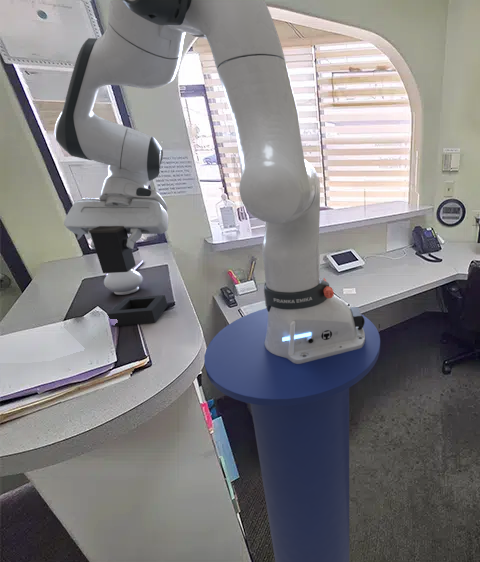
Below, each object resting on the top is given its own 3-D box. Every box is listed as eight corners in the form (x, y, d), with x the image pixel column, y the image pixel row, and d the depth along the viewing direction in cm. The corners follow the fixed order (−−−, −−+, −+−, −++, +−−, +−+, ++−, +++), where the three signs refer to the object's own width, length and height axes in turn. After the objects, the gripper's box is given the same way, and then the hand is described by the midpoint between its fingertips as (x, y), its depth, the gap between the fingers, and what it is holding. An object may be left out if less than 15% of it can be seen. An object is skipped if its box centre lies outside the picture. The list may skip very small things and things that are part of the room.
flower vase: (150, 277, 105) (131, 202, 96) (151, 296, 91) (129, 211, 82) (101, 284, 98) (74, 204, 89) (94, 307, 84) (62, 215, 75)
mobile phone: (103, 274, 103) (119, 260, 116) (104, 277, 104) (120, 263, 116) (130, 272, 106) (143, 259, 119) (131, 275, 106) (144, 261, 119)
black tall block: (136, 265, 76) (125, 225, 73) (127, 272, 72) (115, 229, 68) (112, 266, 75) (100, 225, 71) (102, 273, 71) (88, 230, 67)
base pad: (167, 306, 86) (164, 294, 85) (155, 322, 78) (151, 310, 76) (128, 309, 84) (124, 297, 82) (111, 326, 75) (106, 314, 74)
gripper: (66, 189, 71) (48, 241, 66) (163, 191, 75) (153, 240, 70) (85, 206, 77) (70, 255, 72) (174, 207, 81) (166, 253, 76)
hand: (112, 248), depth 71 cm, fingers closed on black tall block, 5 cm apart
